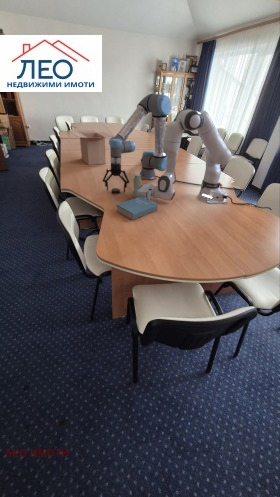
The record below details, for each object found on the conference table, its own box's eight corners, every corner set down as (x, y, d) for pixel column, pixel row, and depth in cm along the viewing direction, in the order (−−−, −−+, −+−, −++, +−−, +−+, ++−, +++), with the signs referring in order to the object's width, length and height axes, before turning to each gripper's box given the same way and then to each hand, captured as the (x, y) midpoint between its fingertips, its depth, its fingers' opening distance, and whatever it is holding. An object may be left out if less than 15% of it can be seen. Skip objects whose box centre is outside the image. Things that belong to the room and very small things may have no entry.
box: (116, 165, 229) (116, 136, 213) (83, 168, 214) (80, 137, 198) (102, 154, 259) (101, 128, 243) (71, 156, 244) (68, 129, 228)
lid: (120, 194, 171) (120, 191, 169) (112, 194, 169) (112, 191, 168) (119, 191, 176) (119, 188, 174) (111, 191, 174) (111, 188, 173)
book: (140, 202, 160) (141, 196, 157) (157, 210, 151) (157, 203, 148) (116, 211, 147) (116, 204, 144) (132, 220, 138) (133, 213, 135)
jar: (133, 197, 167) (134, 176, 158) (132, 194, 171) (133, 173, 162) (140, 197, 168) (141, 176, 159) (139, 194, 172) (140, 173, 163)
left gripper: (97, 163, 156) (99, 191, 169) (132, 165, 157) (131, 193, 169) (99, 160, 162) (100, 188, 175) (133, 162, 163) (132, 190, 175)
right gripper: (158, 182, 168) (141, 179, 172) (148, 191, 153) (130, 187, 157) (157, 190, 172) (140, 187, 176) (147, 200, 157) (130, 196, 160)
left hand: (116, 191), depth 172 cm, fingers open, 13 cm apart
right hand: (135, 187), depth 166 cm, fingers closed on jar, 5 cm apart
